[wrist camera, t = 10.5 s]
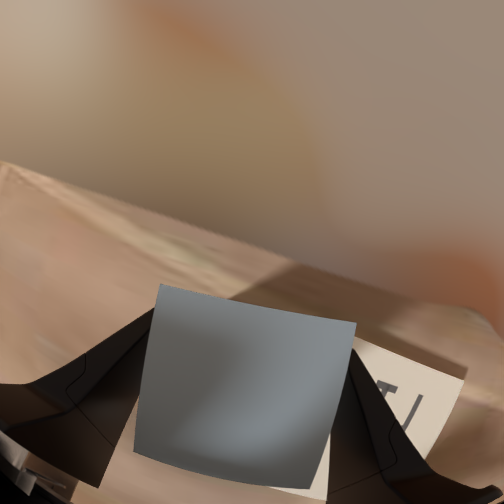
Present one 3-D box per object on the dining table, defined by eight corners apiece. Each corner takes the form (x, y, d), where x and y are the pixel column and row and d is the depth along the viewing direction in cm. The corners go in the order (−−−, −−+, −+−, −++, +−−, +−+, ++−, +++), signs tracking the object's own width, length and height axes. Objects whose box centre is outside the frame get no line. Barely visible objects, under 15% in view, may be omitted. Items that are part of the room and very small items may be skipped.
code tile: (385, 501, 13) (389, 507, 12) (254, 475, 15) (254, 482, 14) (457, 379, 15) (464, 380, 15) (336, 329, 17) (341, 330, 16)
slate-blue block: (280, 393, 16) (309, 489, 5) (204, 377, 16) (133, 451, 6) (297, 318, 17) (356, 322, 6) (219, 303, 17) (160, 283, 7)
